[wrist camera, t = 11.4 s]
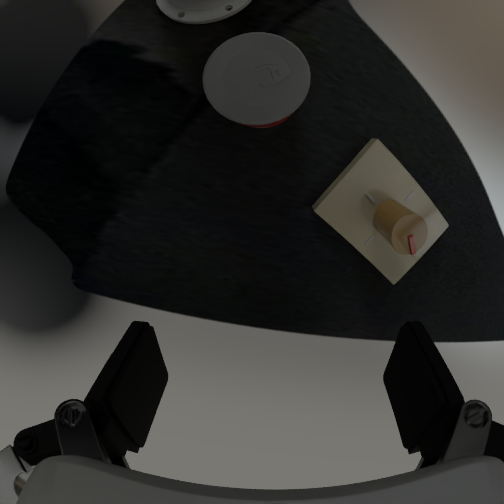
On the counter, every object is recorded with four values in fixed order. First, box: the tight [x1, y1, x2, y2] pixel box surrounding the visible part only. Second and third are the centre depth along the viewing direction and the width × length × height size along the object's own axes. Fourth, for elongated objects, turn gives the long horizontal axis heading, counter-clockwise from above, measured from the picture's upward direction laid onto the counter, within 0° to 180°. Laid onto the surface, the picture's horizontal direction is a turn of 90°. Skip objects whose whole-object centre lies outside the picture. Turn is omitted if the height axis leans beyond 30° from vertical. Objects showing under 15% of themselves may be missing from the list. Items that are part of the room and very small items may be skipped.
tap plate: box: [312, 138, 449, 285], centre depth 30 cm, size 15×11×2 cm
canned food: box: [203, 32, 310, 128], centre depth 22 cm, size 8×8×11 cm
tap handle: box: [373, 200, 428, 255], centre depth 27 cm, size 4×4×6 cm
